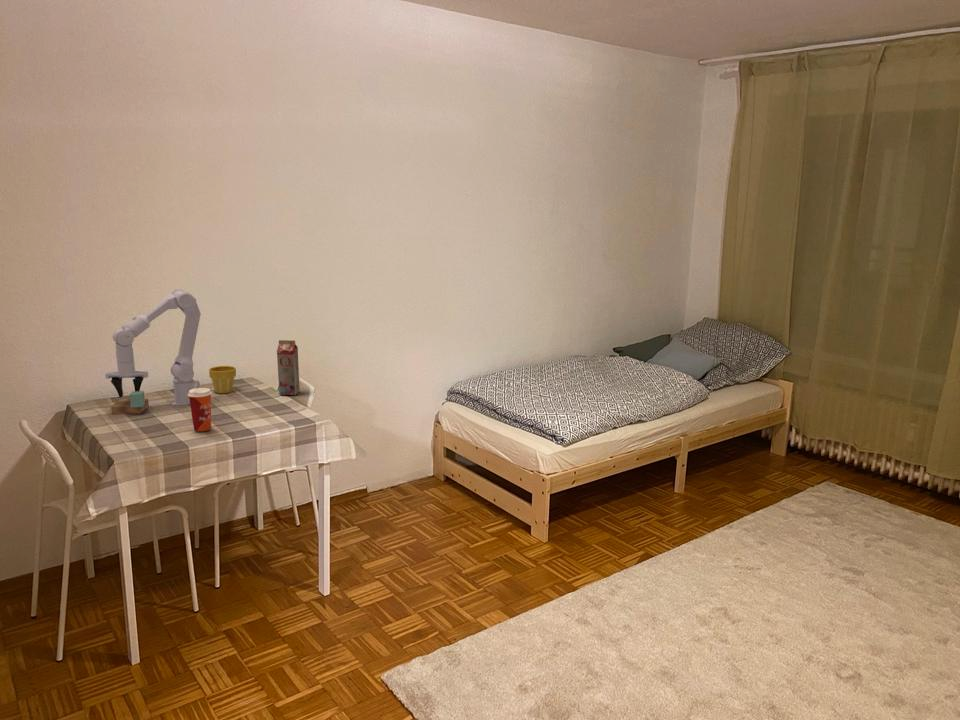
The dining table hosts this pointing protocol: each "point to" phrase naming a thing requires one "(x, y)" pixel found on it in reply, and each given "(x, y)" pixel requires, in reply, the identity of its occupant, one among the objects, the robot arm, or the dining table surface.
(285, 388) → the juice carton
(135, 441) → the dining table surface
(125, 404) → the walnut plinth
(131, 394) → the teal block
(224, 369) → the plant pot
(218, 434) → the dining table surface
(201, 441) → the dining table surface
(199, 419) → the paper cup
